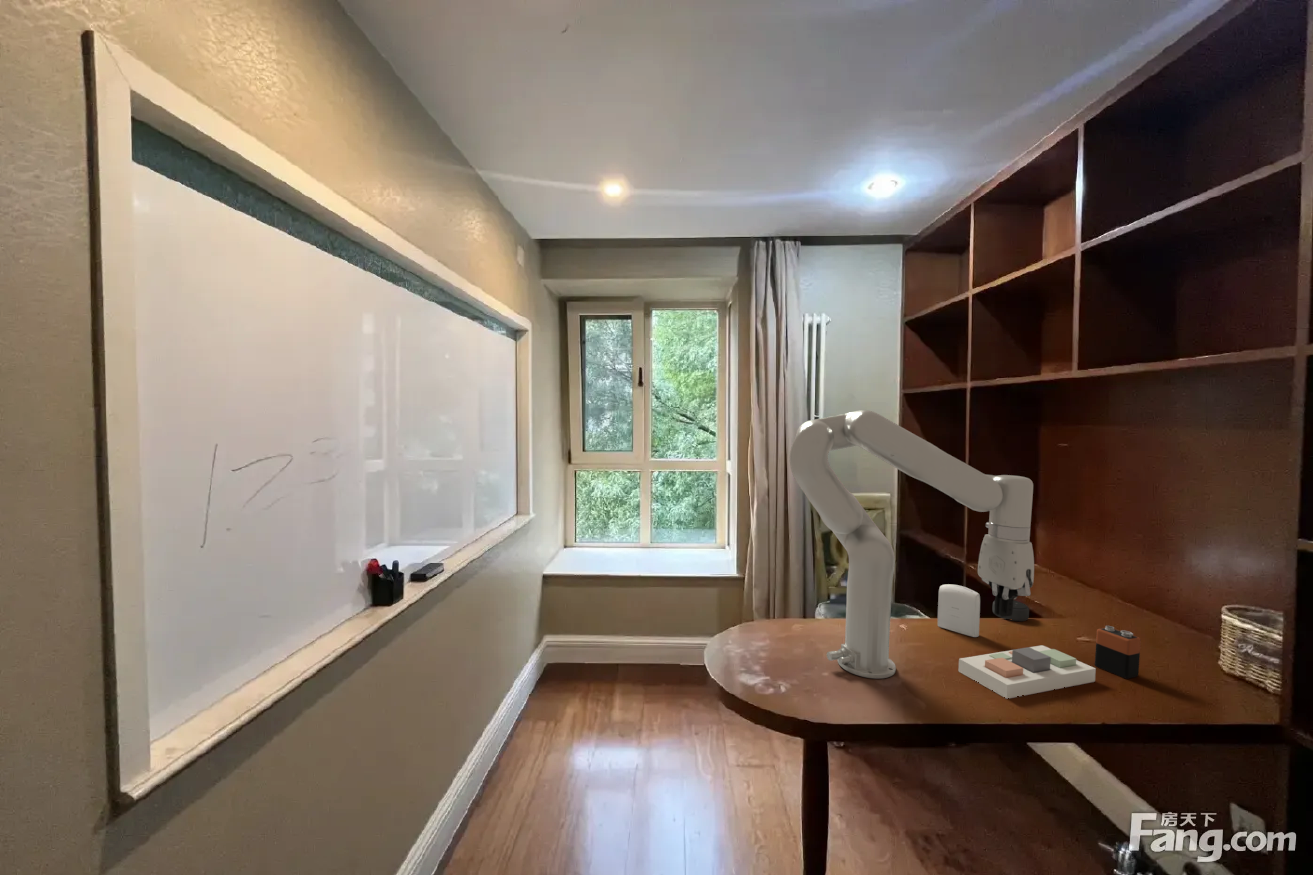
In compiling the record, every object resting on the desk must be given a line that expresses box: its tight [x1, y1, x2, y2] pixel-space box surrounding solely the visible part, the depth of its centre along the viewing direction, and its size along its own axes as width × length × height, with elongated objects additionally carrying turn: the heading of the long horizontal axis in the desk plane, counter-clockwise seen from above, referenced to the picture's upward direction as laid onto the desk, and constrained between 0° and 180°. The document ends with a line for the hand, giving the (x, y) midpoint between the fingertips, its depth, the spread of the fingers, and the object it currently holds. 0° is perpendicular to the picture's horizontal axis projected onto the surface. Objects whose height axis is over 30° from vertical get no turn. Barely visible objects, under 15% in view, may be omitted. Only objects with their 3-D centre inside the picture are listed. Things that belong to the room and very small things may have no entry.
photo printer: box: [937, 583, 981, 638], centre depth 145 cm, size 10×4×12 cm, turn 39°
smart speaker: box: [992, 599, 1030, 622], centre depth 156 cm, size 9×9×4 cm
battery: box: [1094, 625, 1142, 680], centre depth 123 cm, size 4×7×10 cm, turn 20°
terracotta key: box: [985, 658, 1023, 678], centre depth 117 cm, size 5×5×3 cm
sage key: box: [1038, 648, 1077, 668], centre depth 122 cm, size 5×5×3 cm
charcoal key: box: [1011, 646, 1051, 673], centre depth 119 cm, size 5×5×3 cm
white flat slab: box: [958, 645, 1097, 699], centre depth 120 cm, size 26×12×3 cm, turn 107°
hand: (1003, 614), depth 117 cm, fingers closed
